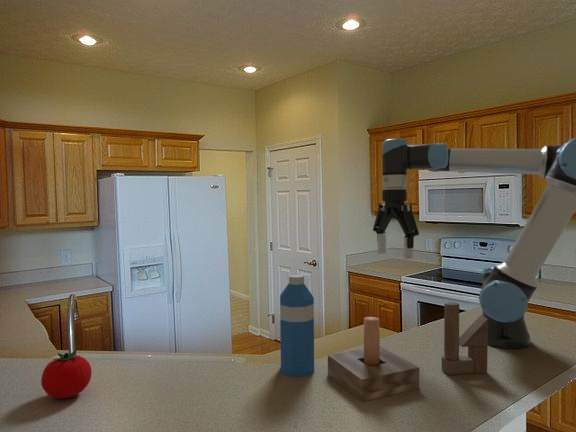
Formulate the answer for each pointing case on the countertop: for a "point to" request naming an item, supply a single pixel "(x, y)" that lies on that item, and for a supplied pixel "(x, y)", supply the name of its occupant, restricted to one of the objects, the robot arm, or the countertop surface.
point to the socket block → (373, 374)
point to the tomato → (66, 375)
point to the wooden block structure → (464, 343)
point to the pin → (371, 341)
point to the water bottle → (297, 328)
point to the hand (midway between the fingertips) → (394, 256)
